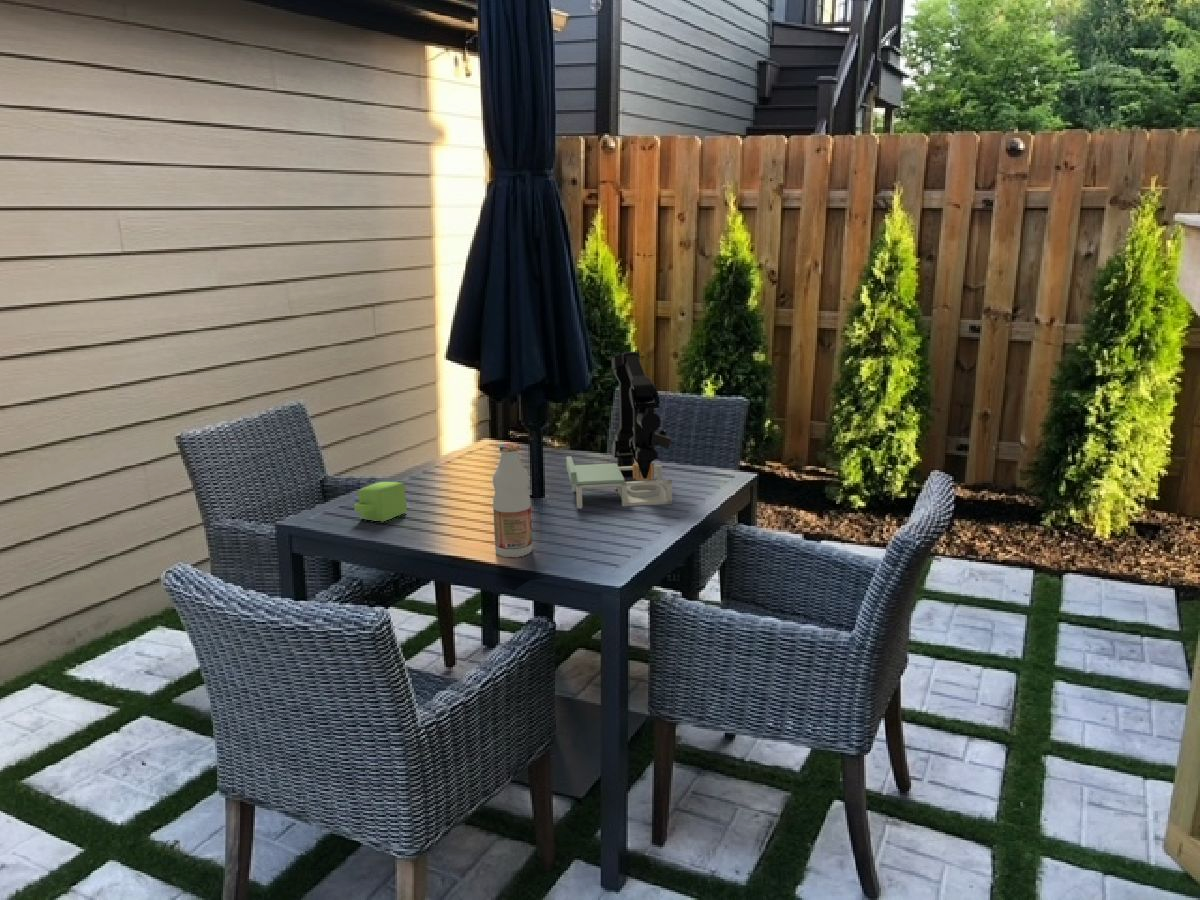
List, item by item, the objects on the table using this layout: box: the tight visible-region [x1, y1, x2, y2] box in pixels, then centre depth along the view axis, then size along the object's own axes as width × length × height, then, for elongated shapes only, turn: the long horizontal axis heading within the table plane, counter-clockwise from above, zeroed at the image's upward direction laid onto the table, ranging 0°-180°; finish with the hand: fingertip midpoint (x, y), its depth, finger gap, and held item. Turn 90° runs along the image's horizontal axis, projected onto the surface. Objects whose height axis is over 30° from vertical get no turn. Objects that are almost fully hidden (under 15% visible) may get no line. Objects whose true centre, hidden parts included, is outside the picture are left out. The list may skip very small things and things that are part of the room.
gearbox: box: [353, 481, 408, 521], centre depth 273 cm, size 18×10×10 cm, turn 153°
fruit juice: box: [492, 442, 533, 558], centre depth 239 cm, size 9×9×28 cm
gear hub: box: [632, 461, 655, 481], centre depth 287 cm, size 6×6×5 cm
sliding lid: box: [565, 455, 626, 485], centre depth 285 cm, size 19×16×4 cm
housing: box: [571, 464, 673, 509], centre depth 287 cm, size 19×28×7 cm
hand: (643, 475), depth 287 cm, fingers closed on gear hub, 6 cm apart
